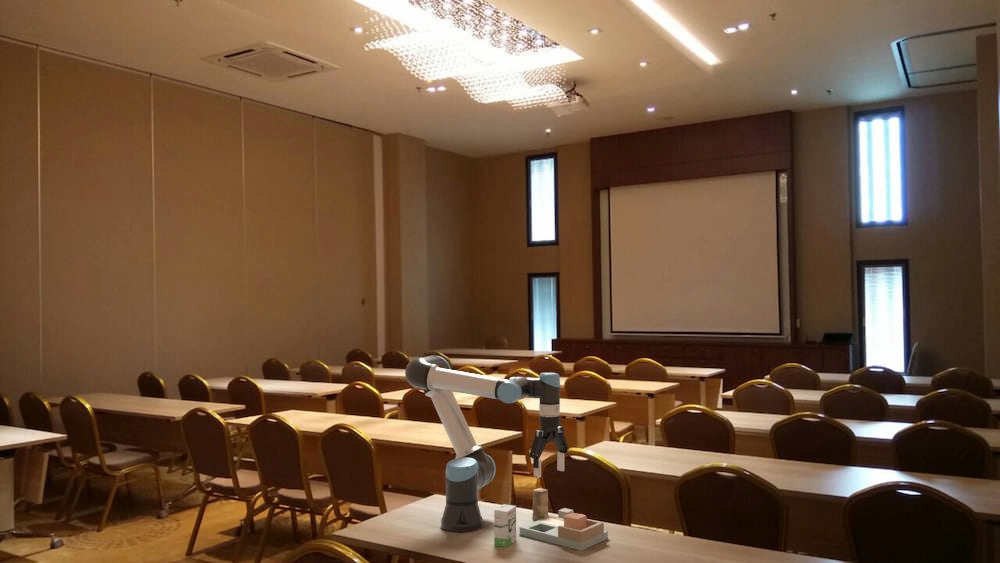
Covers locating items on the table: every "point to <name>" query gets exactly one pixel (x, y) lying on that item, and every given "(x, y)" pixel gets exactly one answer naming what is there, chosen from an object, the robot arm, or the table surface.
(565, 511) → the grey block
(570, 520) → the block
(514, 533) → the ink box
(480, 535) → the table surface
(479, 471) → the robot arm
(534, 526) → the grey sorting tray
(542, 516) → the crook
